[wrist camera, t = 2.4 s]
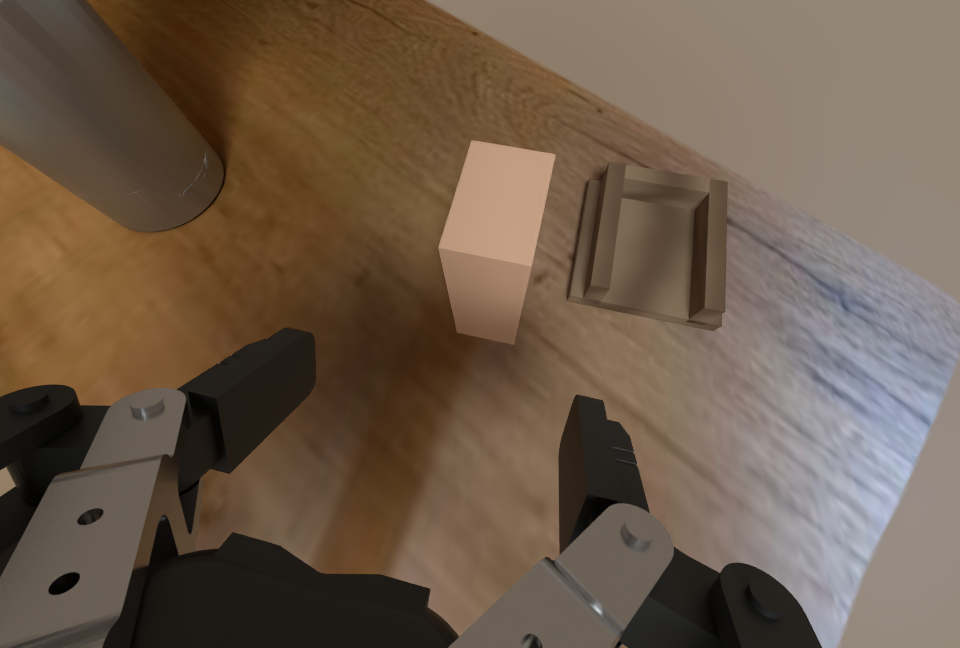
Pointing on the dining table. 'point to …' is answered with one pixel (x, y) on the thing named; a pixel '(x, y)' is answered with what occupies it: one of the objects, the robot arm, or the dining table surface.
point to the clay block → (494, 237)
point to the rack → (653, 246)
